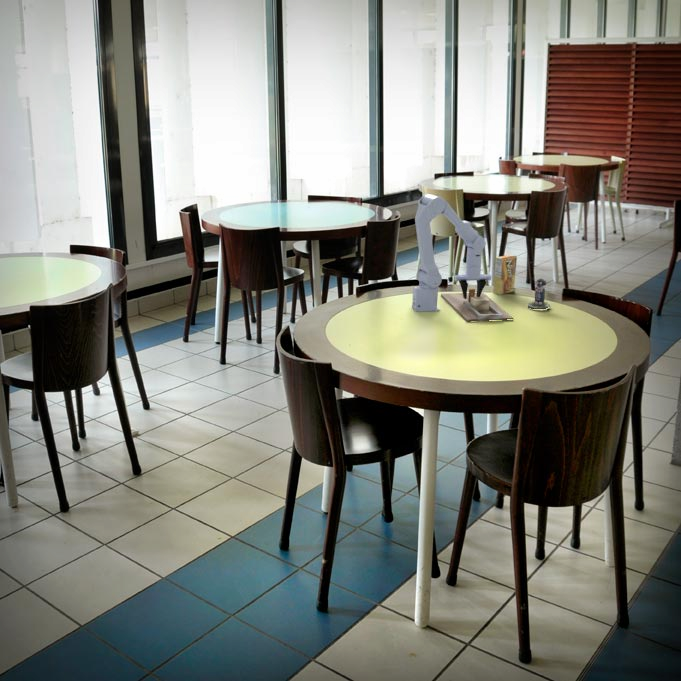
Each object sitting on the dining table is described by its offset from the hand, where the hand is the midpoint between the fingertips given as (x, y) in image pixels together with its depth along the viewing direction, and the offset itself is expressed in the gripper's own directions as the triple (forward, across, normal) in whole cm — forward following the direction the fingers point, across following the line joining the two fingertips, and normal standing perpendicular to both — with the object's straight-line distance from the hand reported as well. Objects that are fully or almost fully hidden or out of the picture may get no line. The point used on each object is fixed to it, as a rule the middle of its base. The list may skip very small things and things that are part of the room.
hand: (471, 298), depth 336 cm
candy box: (+3, -19, -16) cm, 25 cm away
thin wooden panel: (+2, 0, +6) cm, 6 cm away
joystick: (+1, 0, +6) cm, 6 cm away
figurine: (+3, -25, +8) cm, 27 cm away
